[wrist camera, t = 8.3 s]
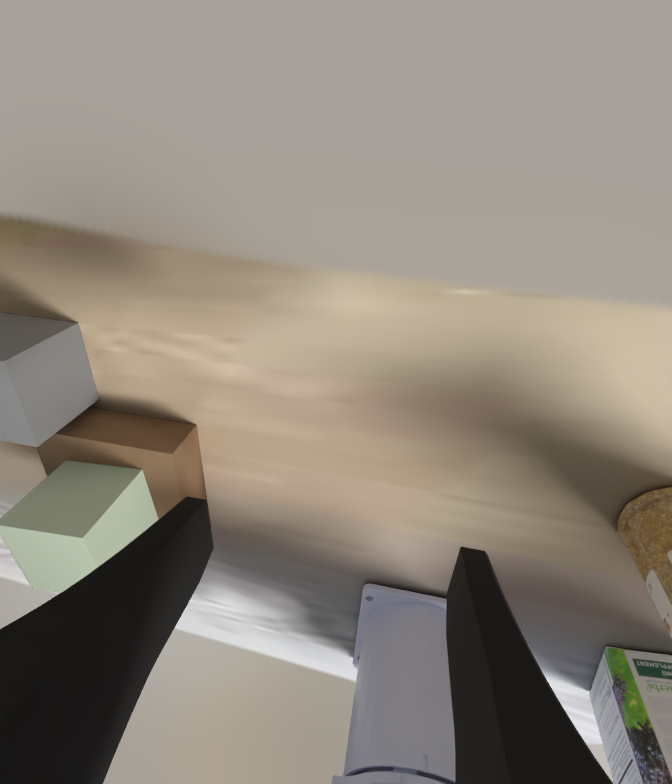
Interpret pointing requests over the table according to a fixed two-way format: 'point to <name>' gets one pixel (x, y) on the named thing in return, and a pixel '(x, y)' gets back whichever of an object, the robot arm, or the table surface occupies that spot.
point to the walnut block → (133, 452)
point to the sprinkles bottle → (652, 545)
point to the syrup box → (635, 714)
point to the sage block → (76, 522)
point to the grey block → (41, 377)
